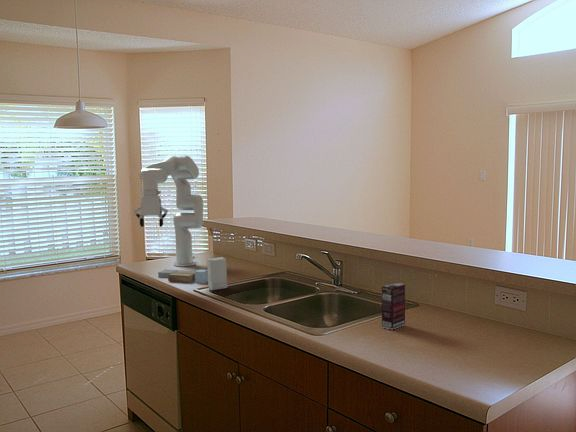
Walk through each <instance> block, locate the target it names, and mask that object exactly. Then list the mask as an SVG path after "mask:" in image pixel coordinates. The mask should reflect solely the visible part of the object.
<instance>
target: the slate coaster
mask: <svg viewBox="0 0 576 432" xmlns="http://www.w3.org/2000/svg"><path fill="white" fill-rule="evenodd" d="M177 271H179V269H163V270H160V271H158V272H157V274H158V275H157V276H158V278H164V277H168V275H169V274H172V273H174V272H177Z"/></svg>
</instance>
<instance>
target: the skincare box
mask: <svg viewBox="0 0 576 432" xmlns="http://www.w3.org/2000/svg"><path fill="white" fill-rule="evenodd" d="M206 263H207V264H206V267H207V270H208V282H207V284H208V286H207V287H208V289H210V290H211V291H216V290H223V289H227V288H228V274H227V269H228V268H227V259H226V258H225V257H223V256H220V257H219V256H218V257H213V258H207V259H206Z"/></svg>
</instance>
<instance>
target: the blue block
mask: <svg viewBox="0 0 576 432" xmlns="http://www.w3.org/2000/svg"><path fill="white" fill-rule="evenodd" d="M194 271H195V281H194V283H195V284H206V283H208V269H197V270H194Z"/></svg>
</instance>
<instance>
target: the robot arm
mask: <svg viewBox="0 0 576 432" xmlns="http://www.w3.org/2000/svg"><path fill="white" fill-rule="evenodd" d="M199 173H200V170H199V167H198V165H197V164H196V163H195V161H194V160H193V158H192V157H190V156H189V155H185V154H183V155H171V156H169V157H167V158H165V159H164V160H163V161H160V162H157V163H156V162H155V163H153V164H149V165H147V166H145V167H143V168H142V169H141V170H140V173H139V180H140V181H141V182H142V195H141V198H140V207H139V208H137V209H135V210H134V211H133V212H134V214H135V216H136V217H137V218H138V219H139V225H140V228H143V227H145V219H144V217H146V216H157V217H158V218H159V221H158V222H159V223H158V224H159V225H158V226H159V227H160V228H162V227H163V225H164V218H165V217H166V216H167V214H168V213H169V210H168V209H166V208H164V207H162V200H161V196H160V195H161V194H162V191H161V190H159V188H158V187H159V184H163V183H165V182H167V180H168V178H169V176H171V179H172V180H173V182H174V183H175V186H176V192H175V193H176V194H175V196H176V197H175V201H176V202H175V203H176V205H175V206H176V208H177V210H180V211H193V212H177V213H175V214H174V215H173V218H172V220H173V221H172V222H173V226H174V235H175V257H176V258H175V259H176V261H175V262H174V263H173V266H174V265H175V267H191V266H194V265H196V262H195V261H194V259H196V256H195V255H193V237H192V233H191V232H190V230H189V229H194V230H195V229H196V230H197V229H198V230H199V229H200V228H202V227H203V224H204V223H203V222H204V201H203V197H202V195H200V194H191V193H192V185H191V184H190V182H189V181H188V180H195V179H197V178H198V177H199V175H200V174H199ZM159 194H160V195H159ZM139 211H140V214H139Z"/></svg>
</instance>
